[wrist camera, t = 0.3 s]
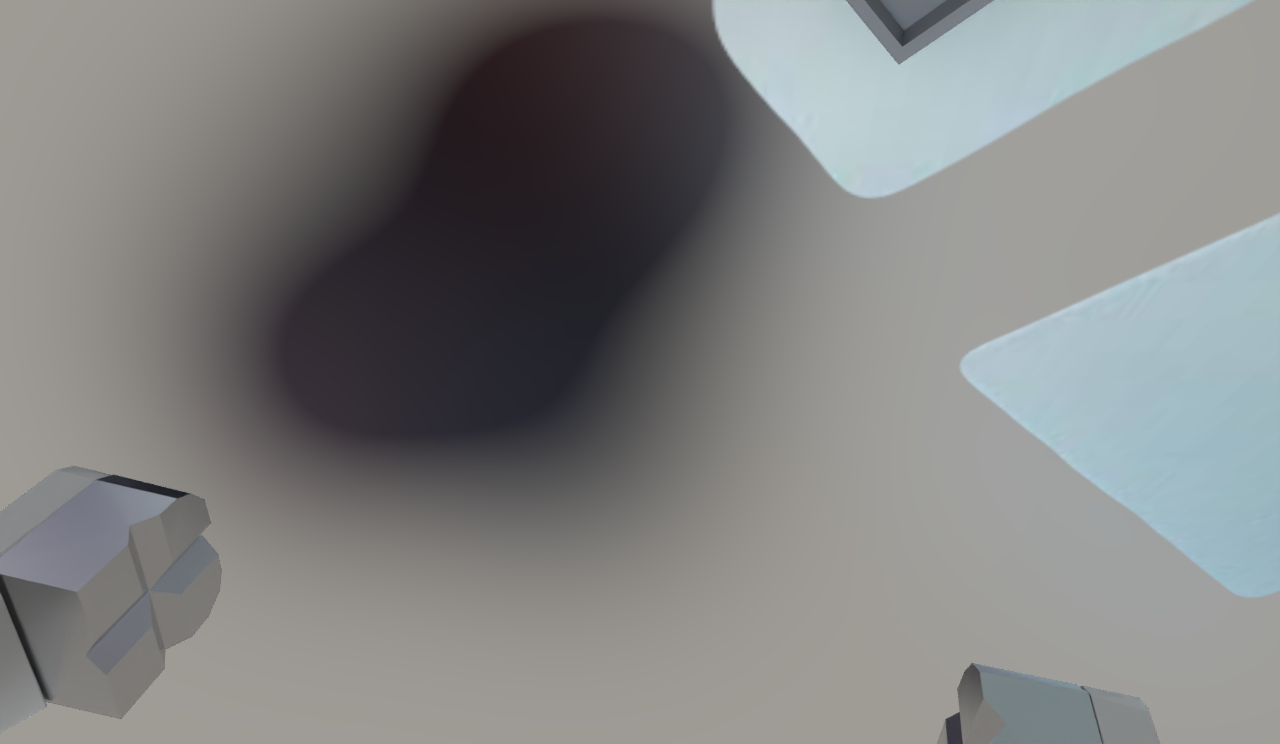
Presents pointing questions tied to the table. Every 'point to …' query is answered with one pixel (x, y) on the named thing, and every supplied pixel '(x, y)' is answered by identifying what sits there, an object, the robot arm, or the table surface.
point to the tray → (912, 21)
